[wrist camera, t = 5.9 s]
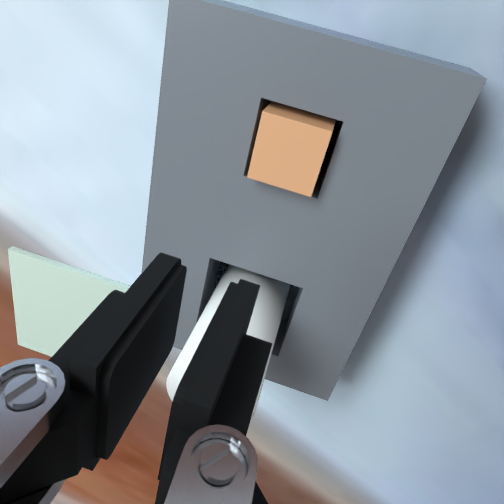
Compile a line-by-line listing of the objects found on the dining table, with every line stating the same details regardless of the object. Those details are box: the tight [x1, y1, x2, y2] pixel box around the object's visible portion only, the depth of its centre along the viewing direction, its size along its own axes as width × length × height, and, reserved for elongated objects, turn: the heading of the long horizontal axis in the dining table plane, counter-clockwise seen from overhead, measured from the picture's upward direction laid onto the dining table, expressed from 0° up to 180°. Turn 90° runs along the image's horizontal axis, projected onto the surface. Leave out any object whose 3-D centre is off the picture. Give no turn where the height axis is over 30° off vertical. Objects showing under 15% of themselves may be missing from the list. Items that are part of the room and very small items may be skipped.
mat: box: [8, 246, 131, 357], centre depth 41 cm, size 12×12×1 cm
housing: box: [142, 0, 486, 401], centre depth 29 cm, size 16×24×4 cm, turn 167°
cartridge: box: [167, 264, 291, 418], centre depth 28 cm, size 5×5×13 cm
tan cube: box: [247, 101, 336, 197], centre depth 25 cm, size 4×4×4 cm
